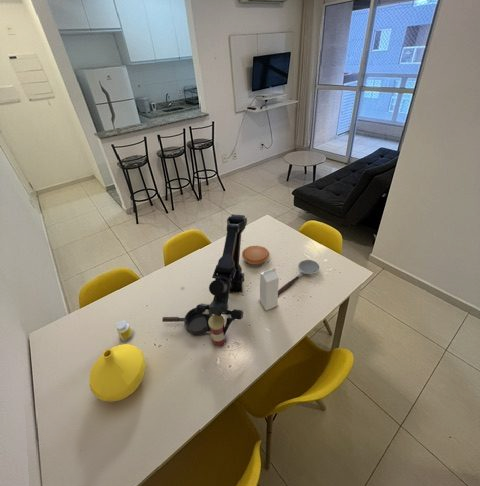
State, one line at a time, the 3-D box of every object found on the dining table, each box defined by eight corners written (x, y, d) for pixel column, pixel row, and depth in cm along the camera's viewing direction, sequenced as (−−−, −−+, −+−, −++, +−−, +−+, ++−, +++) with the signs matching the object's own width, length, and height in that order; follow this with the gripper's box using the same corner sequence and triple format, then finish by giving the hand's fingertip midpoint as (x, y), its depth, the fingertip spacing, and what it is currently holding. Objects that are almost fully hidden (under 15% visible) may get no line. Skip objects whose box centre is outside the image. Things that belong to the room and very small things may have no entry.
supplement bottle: (135, 332, 112) (129, 321, 107) (128, 342, 108) (121, 330, 103) (126, 329, 113) (120, 318, 108) (118, 339, 110) (112, 327, 105)
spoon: (323, 270, 137) (323, 266, 135) (280, 306, 121) (280, 302, 119) (306, 261, 144) (307, 257, 143) (264, 294, 128) (264, 289, 127)
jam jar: (227, 332, 110) (224, 314, 103) (226, 346, 105) (223, 328, 98) (212, 332, 110) (209, 314, 103) (210, 347, 105) (207, 328, 98)
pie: (270, 268, 141) (270, 261, 138) (242, 268, 141) (241, 262, 138) (268, 249, 153) (268, 243, 150) (242, 250, 154) (242, 244, 151)
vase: (150, 398, 90) (135, 372, 79) (94, 417, 86) (70, 391, 76) (149, 350, 105) (137, 322, 94) (101, 364, 101) (82, 336, 90)
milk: (277, 306, 120) (279, 272, 108) (265, 310, 118) (267, 277, 106) (270, 296, 125) (272, 263, 112) (259, 301, 123) (260, 267, 110)
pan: (214, 312, 119) (213, 306, 117) (211, 336, 109) (210, 330, 107) (188, 312, 119) (186, 307, 117) (183, 336, 109) (181, 331, 107)
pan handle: (185, 318, 114) (185, 315, 112) (184, 322, 112) (184, 319, 111) (164, 318, 114) (163, 316, 113) (162, 322, 112) (161, 320, 111)
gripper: (193, 291, 99) (187, 333, 97) (240, 299, 95) (235, 343, 93) (203, 289, 110) (197, 327, 108) (245, 296, 106) (240, 336, 104)
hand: (216, 333), depth 103 cm, fingers closed on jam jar, 6 cm apart
